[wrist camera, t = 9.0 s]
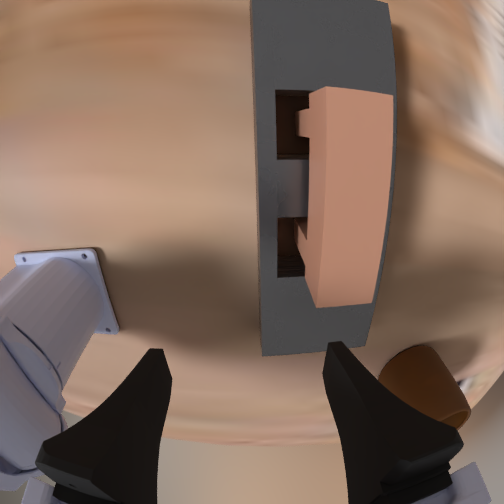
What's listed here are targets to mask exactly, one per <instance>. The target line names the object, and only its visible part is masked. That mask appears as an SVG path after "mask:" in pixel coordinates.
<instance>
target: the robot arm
mask: <svg viewBox="0 0 504 504" xmlns="http://www.w3.org/2000/svg"><path fill="white" fill-rule="evenodd" d="M84 254H86V255H87V257H85V256H84ZM25 258H26V259H25ZM14 259H15V263H16V267H15V268H14V269H12V270H11V271H10V272H9V273H8V274H7V275H5V276H4V277H3V278H2V279H1V280H0V490H4V491H16V490H17V489H18V488H19V487H20V486H21V485H22V484H23V483H24V482H25V481H27V480H29V481H28V484H27V487H26V490H25V493H24V496H23V499H22V502H21V504H157V472H158V458H159V447H160V441H161V436H162V431H163V427H164V423H165V418H166V414H167V410H168V406H169V402H170V396H171V387H172V376H171V373H170V370H169V367H168V364H167V361H166V358H165V355H164V351H163V349H154V348H150V349H149V350H148V351H147V352H146V354H145V355H144V356H143V357H142V359H141V360H140V361H139V363H138V364H137V365H136V366H135V368H134V369H133V370H132V371H131V373H130V374H129V375H128V376H127V377H126V379H125V380H124V381H123V382H122V383H121V384H120V385H119V387H118V388H117V389H116V390H115V391H114V392H113V393H112V394H111V395H110V396H109V397H108V398H107V399H106V400H105V401H104V402H103V403H102V404H101V405H100V406H99V407H97V408H96V409H95V410H94V411H93V412H91V413H90V414H89V415H87V416H86V417H85V418H83V419H82V420H81V421H79V422H78V423H76V424H75V425H73V426H72V427H70V428H68V426H67V423H66V421H65V419H64V417H63V416H62V414H61V412H62V410H63V408H64V406H65V404H66V401H65V400H64V398H63V396H62V393H61V392H62V390H63V388H64V386H65V384H66V382H67V381H68V379H69V377H70V375H71V373H72V371H73V369H74V367H75V365H76V363H77V362H78V360H79V358H80V356H81V354H82V352H83V351H84V349H85V347H86V345H87V343H88V342H89V340H90V338H91V336H92V335H93V333H101V334H118V332H119V326H118V323H117V320H116V317H115V314H114V311H113V308H112V305H111V302H110V299H109V296H108V293H107V289H106V286H105V283H104V279H103V276H102V272H101V268H100V265H99V261H98V257H97V253H96V251H95V250H94V249H91V248H86V249H70V250H55V251H39V252H25V253H17V254H16V255H15V256H14ZM108 328H109V329H108ZM322 374H323V379H324V385H325V390H326V394H327V397H328V400H329V404H330V407H331V410H332V413H333V416H334V419H335V422H336V426H337V429H338V432H339V436H340V440H341V445H342V451H343V457H344V463H345V470H346V478H347V488H348V502H349V504H488V503H490V502H491V498H490V495H489V493H488V490H487V488H486V485H485V483H484V481H483V478H482V476H481V474H480V471H479V469H478V467H477V465H476V462H472V463H470V464H469V465H467V466H465V467H463V468H461V469H459V470H457V471H455V472H454V473H452V474H451V475H450V474H449V472H448V470H449V469H450V468H451V466H450V464H449V461H450V460H451V459H452V458H453V457H454V456H455V455H456V454H457V453H458V452H459V451H460V450H461V449H462V447H463V445H464V444H463V441H462V439H461V437H460V435H459V433H458V431H457V429H456V428H455V427H453V426H450V425H447V424H445V423H442V422H440V421H437V420H435V419H433V418H431V417H429V416H427V415H425V414H423V413H421V412H420V411H418V410H416V409H415V408H413V407H411V406H410V405H408V404H407V403H405V402H404V401H402V400H401V399H400V398H398V397H397V396H396V395H394V394H393V393H392V392H391V391H389V390H388V389H387V388H386V387H385V386H384V385H382V384H381V383H380V382H379V381H378V380H377V379H376V378H375V377H374V376H373V375H372V374H371V373H370V372H369V371H368V370H367V369H366V368H365V367H364V366H363V365H362V364H361V363H360V361H359V360H358V359H357V358H356V357H355V356H354V355H353V354H352V352H351V351H350V350H349V349H348V348H347V347H346V345H345V344H344V343H343V342H342V341H336V342H328V346H327V352H326V357H325V362H324V368H323V373H322ZM44 474H45V475H47V476H48V477H49V478H51V479H52V480H53V481H55V482H56V485H55V487H53V486H51V485H49V484H47V483H45V482H43V481H41V480H38V479H36V478H34V477H37V476H41V475H44Z"/></svg>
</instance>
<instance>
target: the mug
mask: <svg viewBox="0 0 504 504" xmlns="http://www.w3.org/2000/svg"><path fill="white" fill-rule="evenodd" d="M378 381H379V382H380V383H381V384H382V385H384V386H385V387H386V388H387V389H388V390H389V391H391V392H392V393H393V394H394V395H396V396H397V397H398V398H400V399H401V400H402V401H404V402H405V403H407V404H408V405H410V406H411V407H413V408H415V409H416V410H418V411H420V412H421V413H423V414H425V415H427V416H429V417H431V418H433V419H435V420H437V421H440V422H442V423H445V424H447V425H450V426H453V427H455V428H456V429H457V430H459V429H460V428H461V427H462V426H463V424H464V423H465V422H466V421H467V420H468V418H469V417H470V414H471V409H470V406H469V404H468V402H467V400H466V398H465V396H464V394H463V392H462V391H461V389H460V387H459V386H458V384H457V383H456V381H455V379H454V378H453V376H452V375H451V373H450V372H449V370H448V369H447V367H446V366H445V364H444V363H443V361H442V360H441V358H440V357H439V355H438V354H437V353H436V352H435V351H434V350H433V349H432V348H431V347H428V346H416V347H412V348H410V349H407V350H405V351H403V352H401V353H400V354H398V355H397V356H395V357H394V358H393V359H392V360H391V361H389V362H388V363H387V365H386V366H385V367H384V368H383V370H382V371H381V373H380V375H379V378H378Z"/></svg>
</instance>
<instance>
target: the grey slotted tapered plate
mask: <svg viewBox="0 0 504 504" xmlns="http://www.w3.org/2000/svg"><path fill="white" fill-rule="evenodd" d="M250 24H251V50H252V77H253V105H254V135H255V166H256V200H257V236H258V274H259V315H260V338H261V350H262V356H275V355H289V354H301V353H312V352H322V351H327V346H328V342H336V341H342V342H343V343H344V344H345V345H346V347H347V348H354V347H361V346H365V344H366V340H367V336H368V332H369V329H370V325H371V321H372V316H373V312H374V308H375V304H376V299H377V294H378V290H379V285H380V280H381V275H382V269H383V264H384V258H385V252H386V246H387V239H388V232H389V225H390V217H391V208H392V199H393V189H394V177H395V161H396V138H397V94H396V71H395V57H394V46H393V37H392V28H391V21H390V14H389V8H388V3H384V2H381V1H377V0H250ZM326 86H327V87H338V88H347V89H355V90H363V91H370V92H376V93H382V94H388V95H393V147H392V166H391V179H390V191H389V201H388V210H387V218H386V226H385V233H384V240H383V246H382V253H381V259H380V264H379V270H378V275H377V280H376V285H375V290H374V295H373V300H372V303H367V304H357V305H346V306H335V307H323V308H316V306H315V303H314V301H313V298H312V295H311V293H310V290H309V287H308V285H307V282H306V280H305V267H306V266H305V264H304V261H303V259H302V257H301V255H295V256H277V218H281V217H308V203H309V154H277V145H276V105H275V95H278V96H309V94H310V93H312V92H314V91H317V90H319V89H321V88H323V87H326Z"/></svg>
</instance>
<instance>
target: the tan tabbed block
mask: <svg viewBox="0 0 504 504" xmlns="http://www.w3.org/2000/svg"><path fill="white" fill-rule="evenodd" d="M295 135H297V136H303V137H308V138H310V152H309V203H308V218H295V222H294V240H295V243H296V245H297V247H298V249H299V252H300V254H301V257H302V259H303V261H304V264H305V266H306V267H305V280H306V282H307V285H308V287H309V290H310V293H311V295H312V298H313V301H314V303H315V306H316V308H323V307H335V306H346V305H357V304H367V303H372V300H373V295H374V290H375V285H376V280H377V275H378V270H379V264H380V259H381V253H382V246H383V240H384V233H385V226H386V218H387V210H388V201H389V191H390V179H391V166H392V147H393V95H388V94H382V93H376V92H370V91H363V90H355V89H347V88H338V87H327V86H326V87H323V88H321V89H319V90H317V91H314V92H312V93H310V94H309V109H305V110H301V111H297V112H295Z"/></svg>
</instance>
